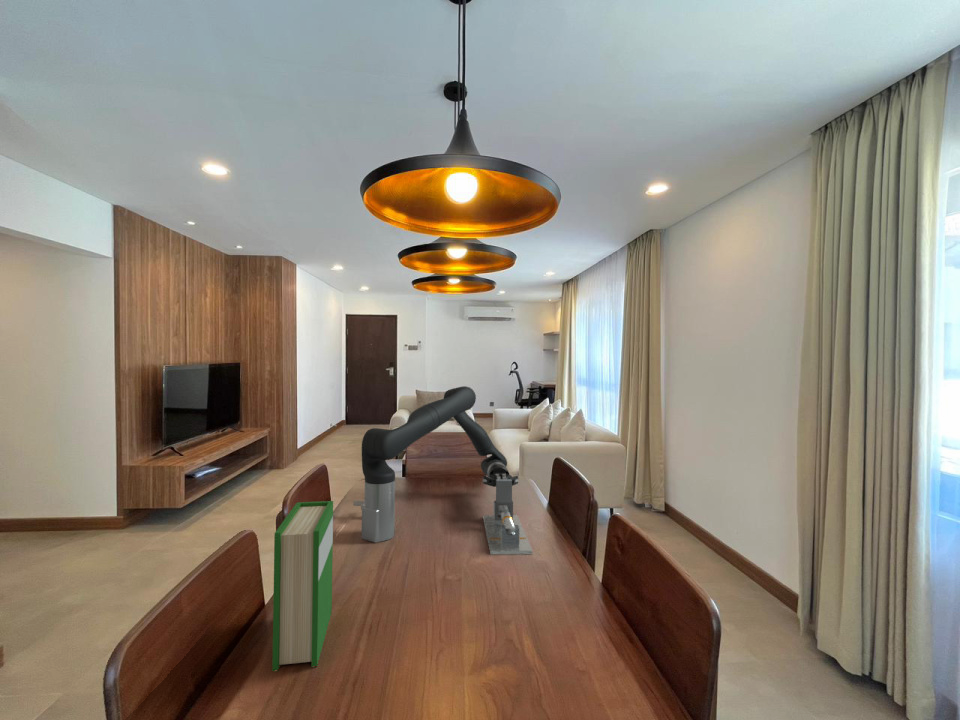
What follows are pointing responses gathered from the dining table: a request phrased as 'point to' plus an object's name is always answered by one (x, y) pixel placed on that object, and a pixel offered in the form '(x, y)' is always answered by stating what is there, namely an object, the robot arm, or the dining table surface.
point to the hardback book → (302, 583)
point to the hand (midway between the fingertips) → (503, 486)
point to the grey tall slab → (503, 496)
